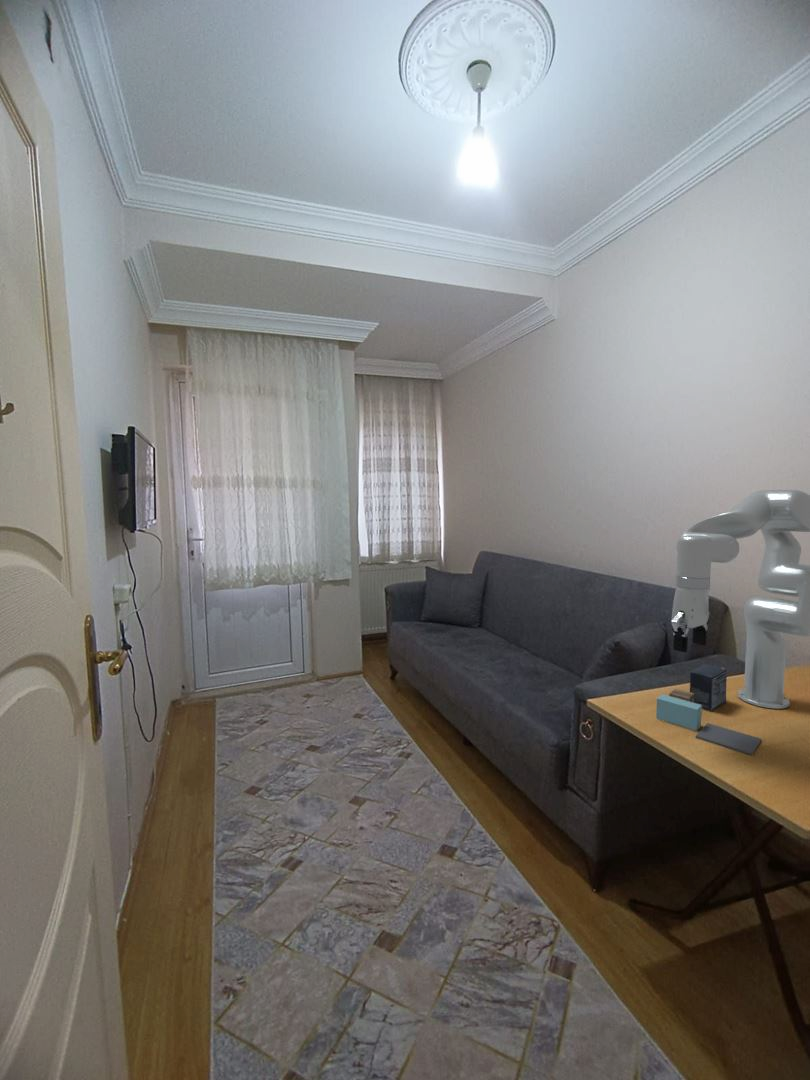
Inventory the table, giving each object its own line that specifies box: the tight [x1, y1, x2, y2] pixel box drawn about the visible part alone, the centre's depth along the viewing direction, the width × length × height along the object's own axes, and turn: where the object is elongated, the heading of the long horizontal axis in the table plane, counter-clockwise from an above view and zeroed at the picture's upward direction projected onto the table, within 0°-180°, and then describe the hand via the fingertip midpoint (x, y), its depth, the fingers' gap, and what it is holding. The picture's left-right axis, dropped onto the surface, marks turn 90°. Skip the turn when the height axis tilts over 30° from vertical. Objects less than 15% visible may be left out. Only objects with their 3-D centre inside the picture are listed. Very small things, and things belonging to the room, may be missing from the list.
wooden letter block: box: [668, 688, 694, 703], centre depth 139 cm, size 5×5×5 cm
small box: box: [689, 663, 728, 712], centre depth 143 cm, size 11×6×10 cm, turn 126°
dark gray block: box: [695, 722, 762, 756], centre depth 122 cm, size 10×12×1 cm
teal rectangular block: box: [655, 694, 703, 732], centre depth 131 cm, size 4×10×6 cm, turn 43°
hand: (689, 647), depth 125 cm, fingers open, 9 cm apart
